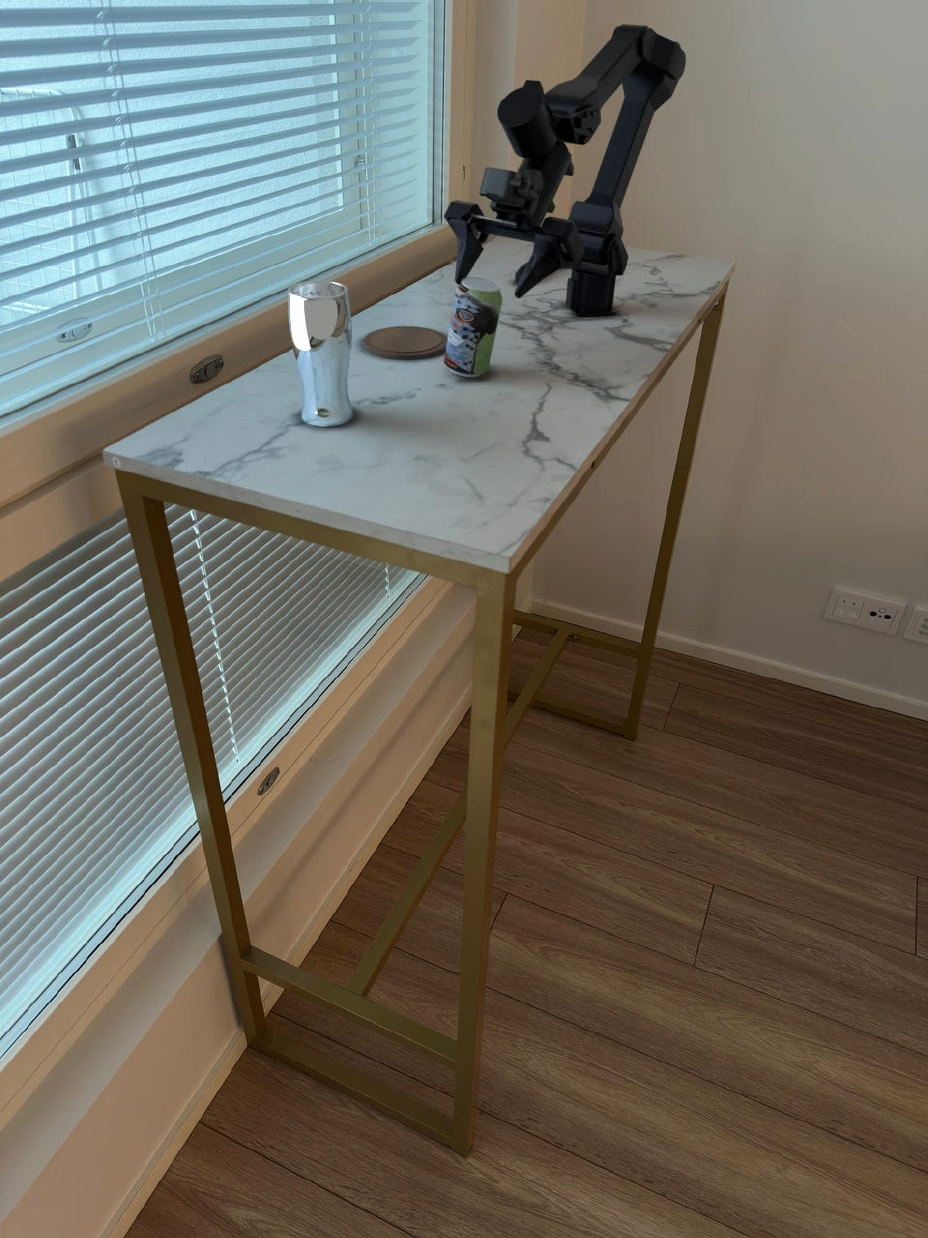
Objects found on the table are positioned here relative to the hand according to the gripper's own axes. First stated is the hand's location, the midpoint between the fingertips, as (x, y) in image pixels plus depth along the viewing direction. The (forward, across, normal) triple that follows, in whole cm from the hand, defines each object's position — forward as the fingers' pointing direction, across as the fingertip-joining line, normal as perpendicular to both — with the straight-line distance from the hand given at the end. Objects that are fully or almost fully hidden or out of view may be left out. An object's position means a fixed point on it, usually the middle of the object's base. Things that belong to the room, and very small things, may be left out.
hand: (486, 289), depth 117 cm
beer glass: (+25, -6, -10) cm, 28 cm away
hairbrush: (-26, -17, +40) cm, 51 cm away
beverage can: (+10, 0, +5) cm, 11 cm away
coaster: (+7, -14, +7) cm, 17 cm away
